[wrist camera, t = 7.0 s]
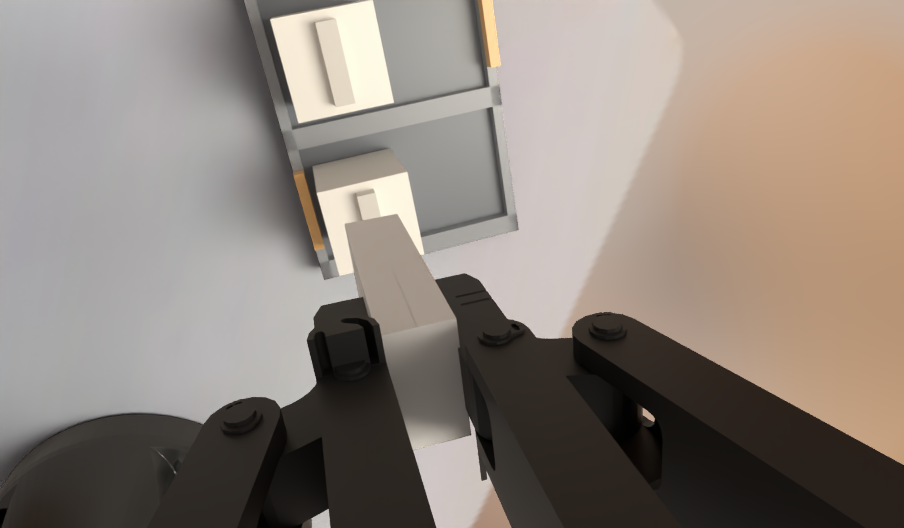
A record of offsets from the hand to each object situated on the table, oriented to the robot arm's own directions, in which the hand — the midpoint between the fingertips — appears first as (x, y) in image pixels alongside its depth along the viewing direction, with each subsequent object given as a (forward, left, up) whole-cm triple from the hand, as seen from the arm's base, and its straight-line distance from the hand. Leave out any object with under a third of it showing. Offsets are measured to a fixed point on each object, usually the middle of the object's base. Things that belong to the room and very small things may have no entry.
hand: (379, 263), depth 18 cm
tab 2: (+1, -2, -15) cm, 15 cm away
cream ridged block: (+1, +5, -15) cm, 16 cm away
